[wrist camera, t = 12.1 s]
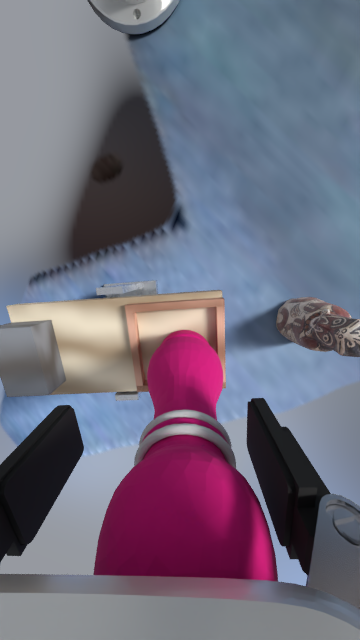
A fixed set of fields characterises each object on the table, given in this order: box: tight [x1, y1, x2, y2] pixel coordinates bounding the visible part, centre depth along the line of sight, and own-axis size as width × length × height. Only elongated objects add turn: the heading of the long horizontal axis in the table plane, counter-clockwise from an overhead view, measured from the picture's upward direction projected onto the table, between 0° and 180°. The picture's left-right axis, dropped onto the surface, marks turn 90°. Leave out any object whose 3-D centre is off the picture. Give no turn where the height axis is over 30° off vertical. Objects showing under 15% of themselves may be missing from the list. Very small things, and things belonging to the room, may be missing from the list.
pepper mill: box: [94, 330, 278, 582], centre depth 12 cm, size 7×7×20 cm
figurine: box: [276, 297, 360, 357], centre depth 23 cm, size 7×7×12 cm
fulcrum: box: [96, 280, 158, 401], centre depth 26 cm, size 15×8×8 cm, turn 4°
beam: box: [0, 290, 226, 397], centre depth 21 cm, size 12×25×4 cm, turn 94°
